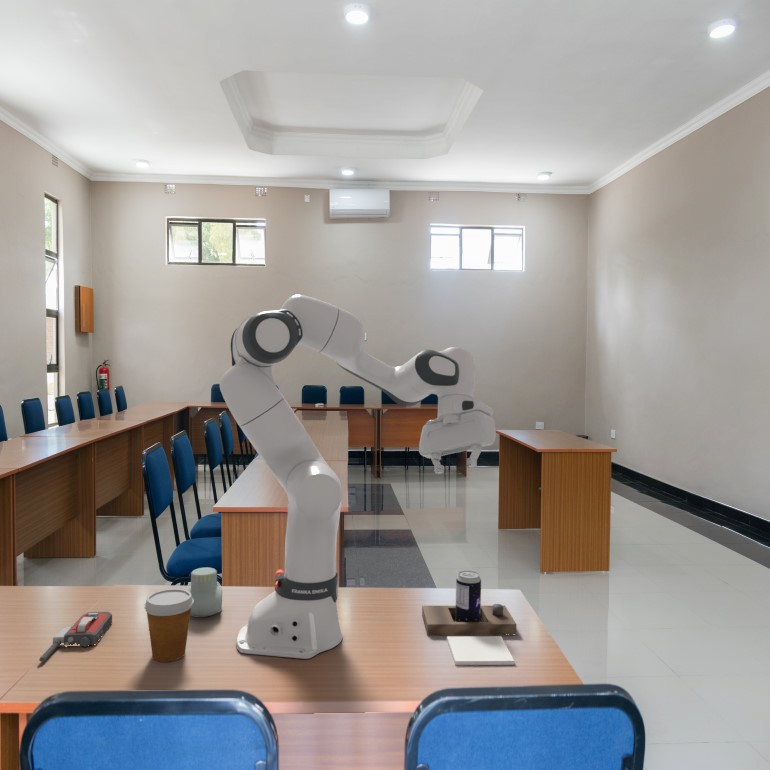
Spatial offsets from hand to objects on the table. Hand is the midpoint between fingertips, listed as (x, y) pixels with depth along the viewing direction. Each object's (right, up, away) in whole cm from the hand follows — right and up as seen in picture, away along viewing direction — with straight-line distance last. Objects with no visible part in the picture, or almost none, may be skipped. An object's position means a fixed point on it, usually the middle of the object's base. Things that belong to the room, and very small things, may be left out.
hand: (455, 469), depth 140 cm
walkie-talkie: (-81, -36, -9) cm, 89 cm away
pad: (+4, -37, -10) cm, 38 cm away
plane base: (+3, -36, +3) cm, 37 cm away
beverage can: (+3, -37, +3) cm, 37 cm away
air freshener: (-59, -35, +7) cm, 69 cm away
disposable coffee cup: (-60, -36, -14) cm, 71 cm away
